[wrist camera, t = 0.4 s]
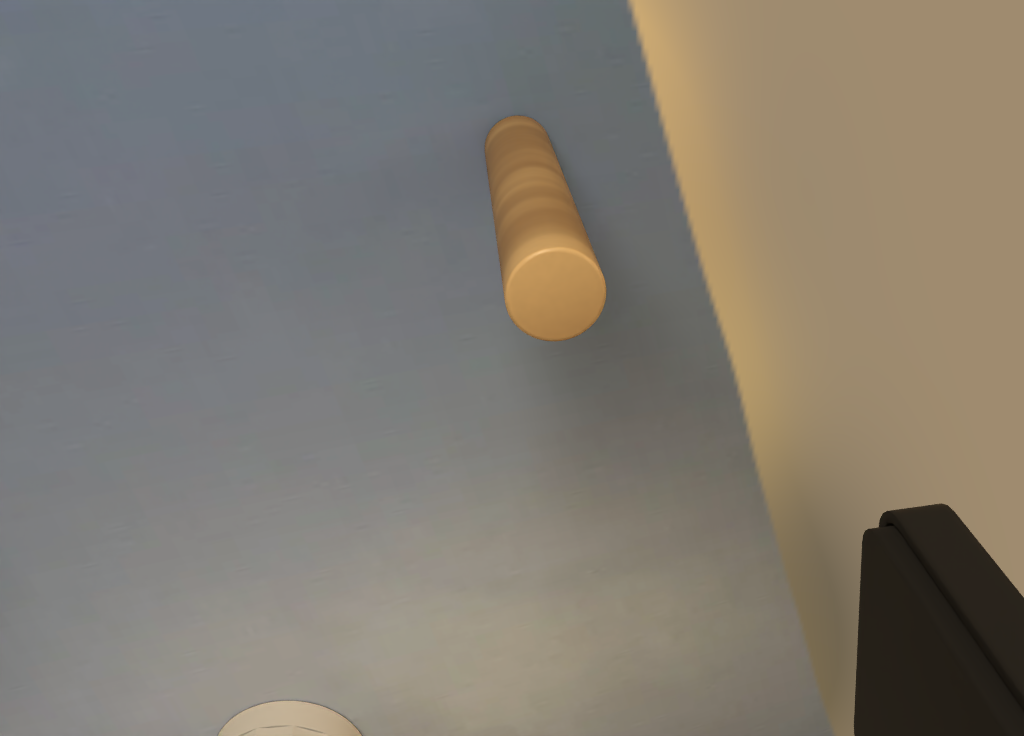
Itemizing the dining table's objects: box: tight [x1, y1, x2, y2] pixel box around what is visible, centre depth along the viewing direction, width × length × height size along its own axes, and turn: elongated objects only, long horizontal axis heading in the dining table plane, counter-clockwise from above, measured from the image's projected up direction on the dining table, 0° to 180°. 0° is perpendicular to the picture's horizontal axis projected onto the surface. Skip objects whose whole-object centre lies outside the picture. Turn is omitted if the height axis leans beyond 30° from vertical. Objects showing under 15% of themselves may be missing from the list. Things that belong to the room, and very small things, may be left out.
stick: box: [485, 116, 606, 341], centre depth 24 cm, size 2×2×12 cm
